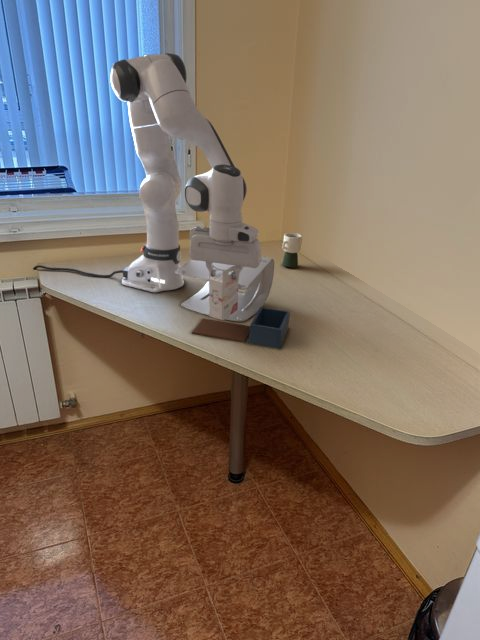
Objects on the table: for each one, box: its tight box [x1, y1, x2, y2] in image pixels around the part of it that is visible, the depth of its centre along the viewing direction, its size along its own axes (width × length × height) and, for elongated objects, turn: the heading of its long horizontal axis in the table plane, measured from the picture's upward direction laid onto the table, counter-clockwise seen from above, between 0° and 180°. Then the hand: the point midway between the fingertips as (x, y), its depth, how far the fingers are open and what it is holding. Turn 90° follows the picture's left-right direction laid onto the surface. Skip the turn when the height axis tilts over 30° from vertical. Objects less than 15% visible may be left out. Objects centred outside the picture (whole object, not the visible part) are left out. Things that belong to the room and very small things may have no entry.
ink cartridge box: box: [209, 265, 239, 321], centre depth 140 cm, size 9×5×15 cm, turn 148°
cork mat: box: [191, 317, 250, 343], centre depth 146 cm, size 16×10×1 cm, turn 74°
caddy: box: [248, 306, 291, 350], centre depth 143 cm, size 9×13×6 cm
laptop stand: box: [175, 256, 275, 323], centre depth 160 cm, size 26×24×16 cm
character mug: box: [281, 232, 303, 268], centre depth 195 cm, size 11×7×13 cm, turn 131°
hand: (224, 278), depth 138 cm, fingers closed on ink cartridge box, 5 cm apart
